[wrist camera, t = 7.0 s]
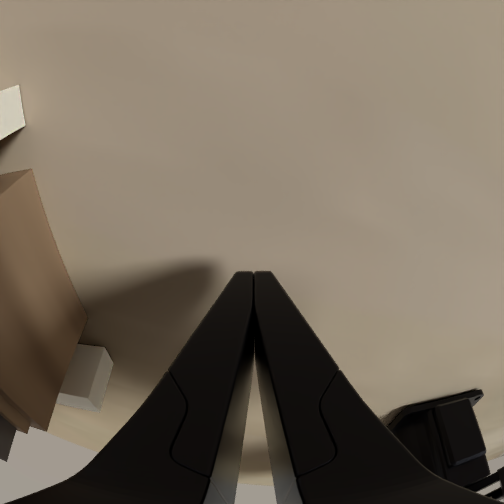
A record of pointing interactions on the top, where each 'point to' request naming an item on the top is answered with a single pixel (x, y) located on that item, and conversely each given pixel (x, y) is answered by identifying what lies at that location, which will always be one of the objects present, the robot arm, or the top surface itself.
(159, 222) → the top surface
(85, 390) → the bay
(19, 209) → the block
